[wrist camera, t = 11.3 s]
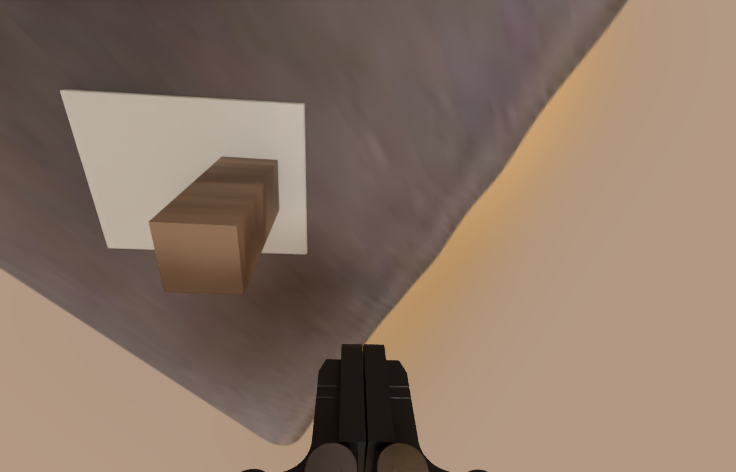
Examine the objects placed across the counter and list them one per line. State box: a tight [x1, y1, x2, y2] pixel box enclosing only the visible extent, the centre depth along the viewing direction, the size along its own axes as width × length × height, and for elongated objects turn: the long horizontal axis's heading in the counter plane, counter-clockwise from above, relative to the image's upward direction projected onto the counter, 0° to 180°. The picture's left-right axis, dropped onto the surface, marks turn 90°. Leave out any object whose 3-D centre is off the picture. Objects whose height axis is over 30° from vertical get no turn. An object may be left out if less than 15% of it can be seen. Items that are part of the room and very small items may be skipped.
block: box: [149, 156, 280, 295], centre depth 23 cm, size 4×4×11 cm
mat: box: [60, 89, 307, 254], centre depth 28 cm, size 12×16×1 cm
